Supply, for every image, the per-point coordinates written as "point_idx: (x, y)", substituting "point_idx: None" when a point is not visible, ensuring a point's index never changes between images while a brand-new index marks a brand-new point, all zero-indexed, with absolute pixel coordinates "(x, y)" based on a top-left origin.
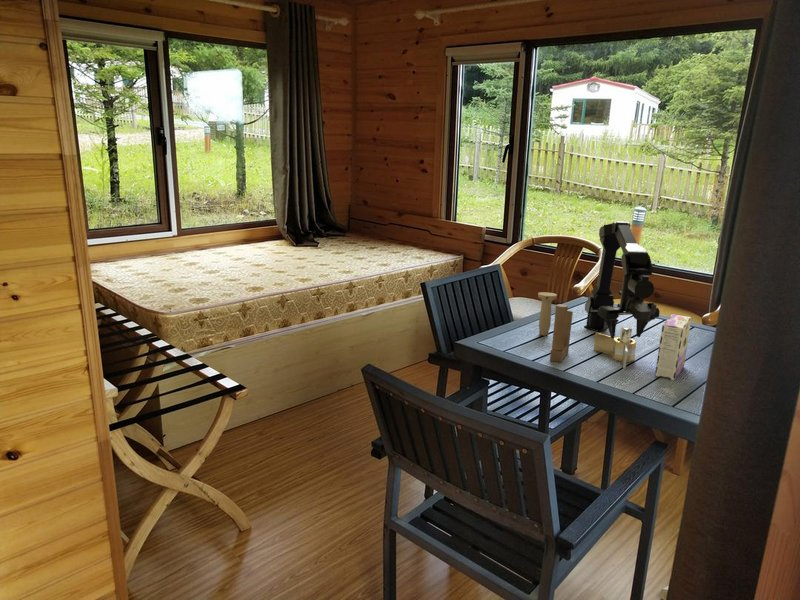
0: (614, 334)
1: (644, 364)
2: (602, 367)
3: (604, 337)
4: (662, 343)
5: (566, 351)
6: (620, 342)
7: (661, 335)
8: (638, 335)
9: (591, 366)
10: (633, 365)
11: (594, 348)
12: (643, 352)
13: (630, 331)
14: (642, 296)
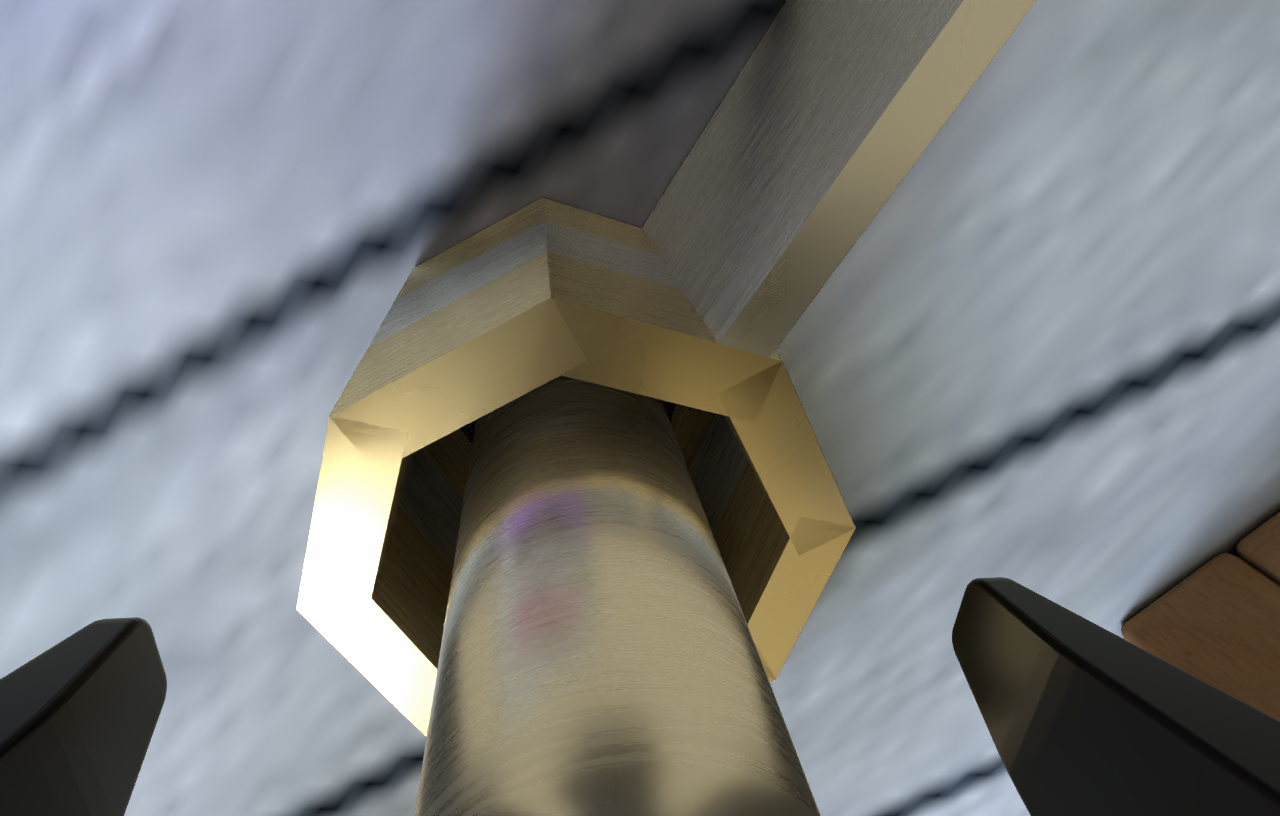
0: (1083, 648)
1: (326, 8)
2: (1166, 65)
3: None
4: None
5: (1269, 585)
6: (802, 458)
7: None
8: (121, 664)
9: (1272, 149)
10: (586, 14)
11: None
12: (56, 544)
13: (558, 715)
14: None
